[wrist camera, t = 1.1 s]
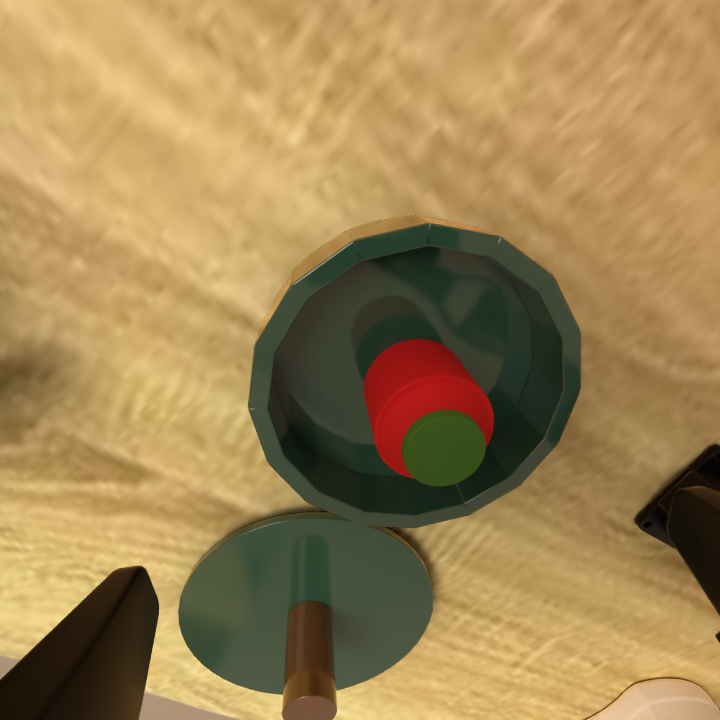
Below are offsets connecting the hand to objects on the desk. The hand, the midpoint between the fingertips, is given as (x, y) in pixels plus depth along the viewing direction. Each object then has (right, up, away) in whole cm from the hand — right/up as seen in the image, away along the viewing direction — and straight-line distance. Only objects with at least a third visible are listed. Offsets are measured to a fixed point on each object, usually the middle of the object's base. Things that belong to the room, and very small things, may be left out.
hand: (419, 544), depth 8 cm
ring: (+1, +3, +14) cm, 14 cm away
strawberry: (+1, +3, +13) cm, 14 cm away
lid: (-4, -11, +19) cm, 22 cm away
